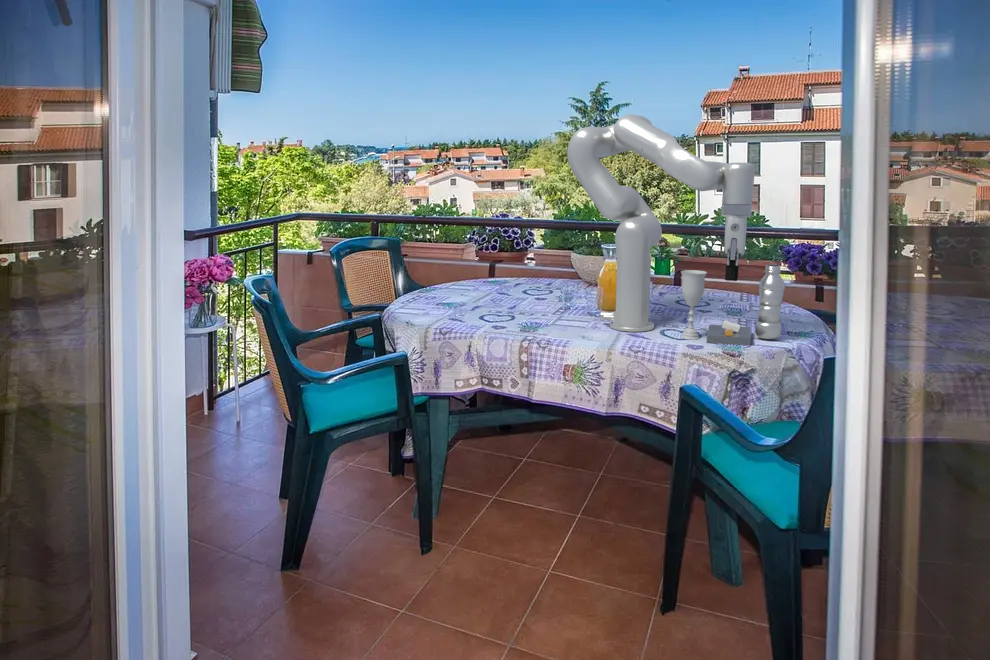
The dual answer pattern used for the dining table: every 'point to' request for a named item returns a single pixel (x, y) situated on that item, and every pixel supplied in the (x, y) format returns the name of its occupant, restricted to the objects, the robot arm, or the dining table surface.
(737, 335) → the panel
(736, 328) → the block
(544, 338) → the dining table surface
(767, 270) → the plastic bottle
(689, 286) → the chalice
